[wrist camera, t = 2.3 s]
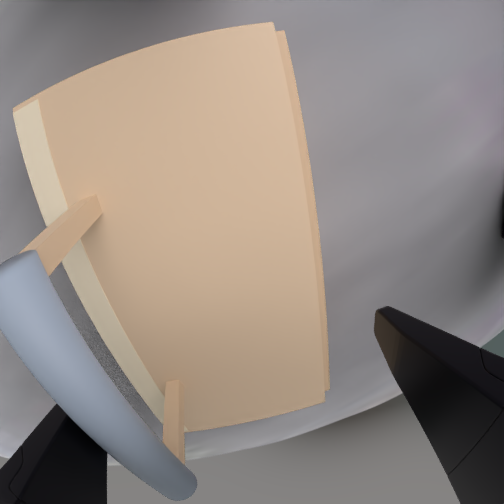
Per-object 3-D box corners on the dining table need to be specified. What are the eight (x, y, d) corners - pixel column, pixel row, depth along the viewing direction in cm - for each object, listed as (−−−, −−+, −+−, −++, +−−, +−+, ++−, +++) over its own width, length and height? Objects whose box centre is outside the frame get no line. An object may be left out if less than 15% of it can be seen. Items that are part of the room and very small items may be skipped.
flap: (270, 25, 8) (357, -68, 2) (322, 395, 16) (359, 488, 10) (19, 108, 8) (-114, 132, 2) (171, 427, 16) (172, 522, 10)
